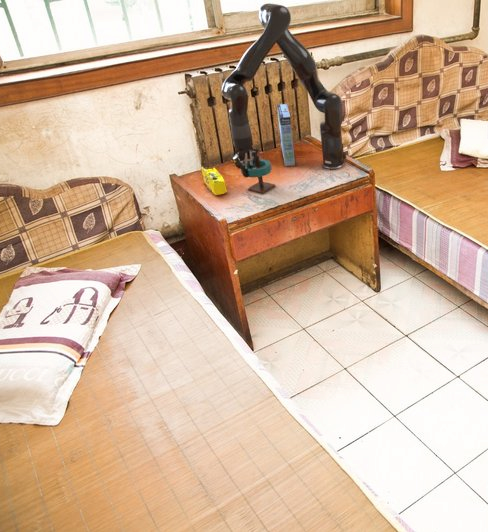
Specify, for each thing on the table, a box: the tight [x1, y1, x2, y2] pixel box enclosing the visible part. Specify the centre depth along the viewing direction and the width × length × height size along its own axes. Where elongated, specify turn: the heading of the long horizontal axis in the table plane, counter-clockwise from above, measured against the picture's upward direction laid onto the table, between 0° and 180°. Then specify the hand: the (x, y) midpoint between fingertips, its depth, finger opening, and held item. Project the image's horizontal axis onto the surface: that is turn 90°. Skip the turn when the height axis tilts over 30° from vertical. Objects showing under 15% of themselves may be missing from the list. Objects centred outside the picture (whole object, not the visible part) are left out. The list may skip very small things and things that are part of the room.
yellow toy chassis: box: [201, 166, 228, 196], centre depth 229 cm, size 16×6×8 cm, turn 31°
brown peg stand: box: [247, 153, 276, 195], centre depth 227 cm, size 8×8×15 cm
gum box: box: [276, 103, 296, 167], centre depth 252 cm, size 20×5×23 cm, turn 13°
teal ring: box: [240, 158, 273, 178], centre depth 224 cm, size 12×12×3 cm
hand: (248, 175), depth 221 cm, fingers closed on teal ring, 2 cm apart
